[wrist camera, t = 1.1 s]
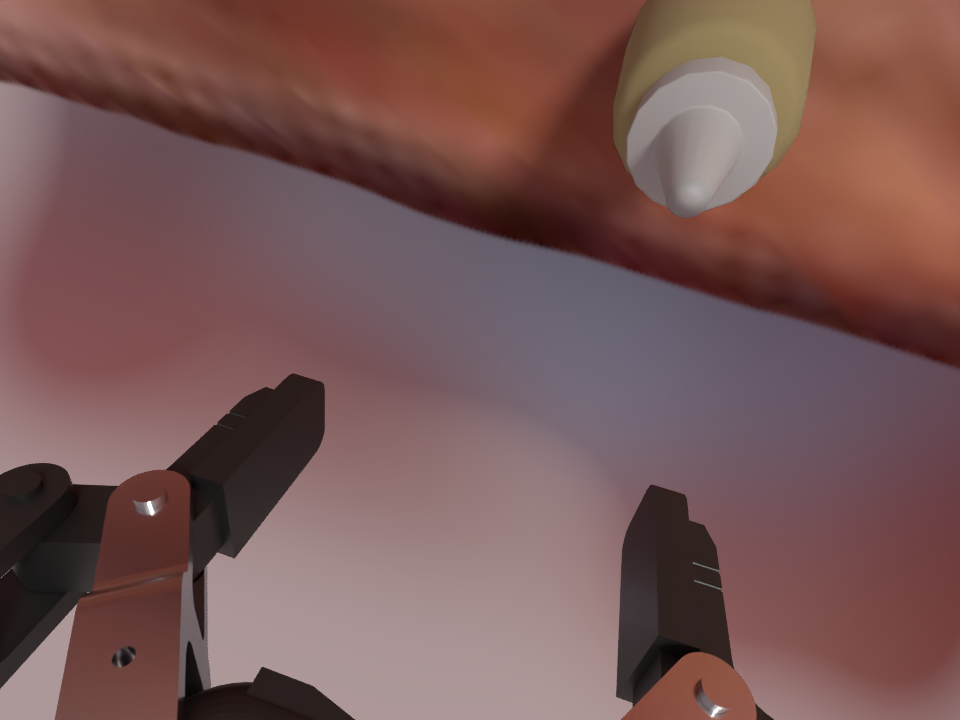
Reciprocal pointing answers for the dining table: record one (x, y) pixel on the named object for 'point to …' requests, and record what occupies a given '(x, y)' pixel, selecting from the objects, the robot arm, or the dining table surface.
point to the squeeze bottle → (711, 96)
